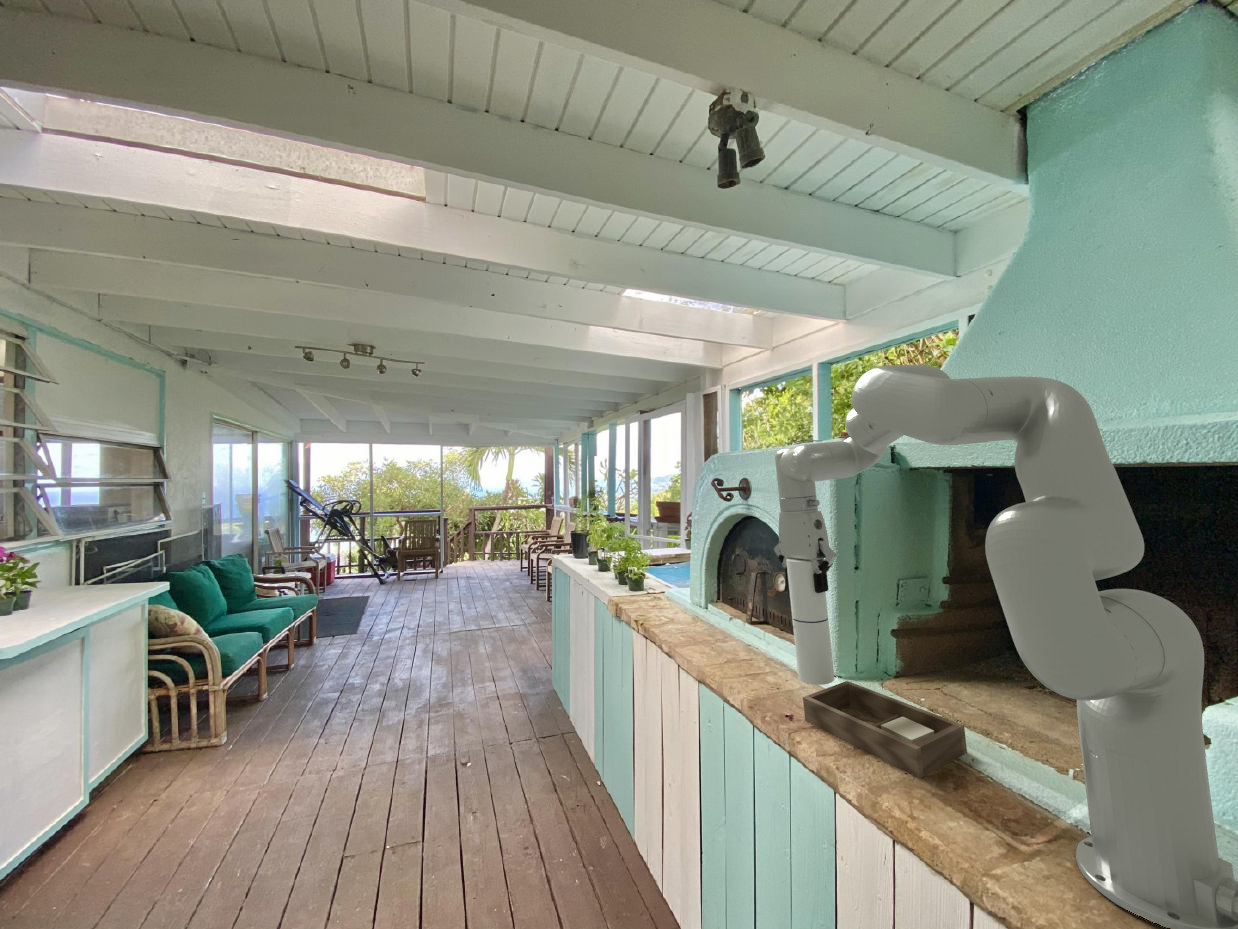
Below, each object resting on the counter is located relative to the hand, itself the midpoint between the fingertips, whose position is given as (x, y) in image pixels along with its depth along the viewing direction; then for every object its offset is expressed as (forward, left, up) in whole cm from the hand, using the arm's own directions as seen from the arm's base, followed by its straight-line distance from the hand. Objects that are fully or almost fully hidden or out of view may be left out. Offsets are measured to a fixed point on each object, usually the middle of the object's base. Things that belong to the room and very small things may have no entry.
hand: (806, 588), depth 105 cm
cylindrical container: (0, 0, -19) cm, 19 cm away
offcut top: (-23, +5, -20) cm, 31 cm away
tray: (-18, +5, -22) cm, 29 cm away
